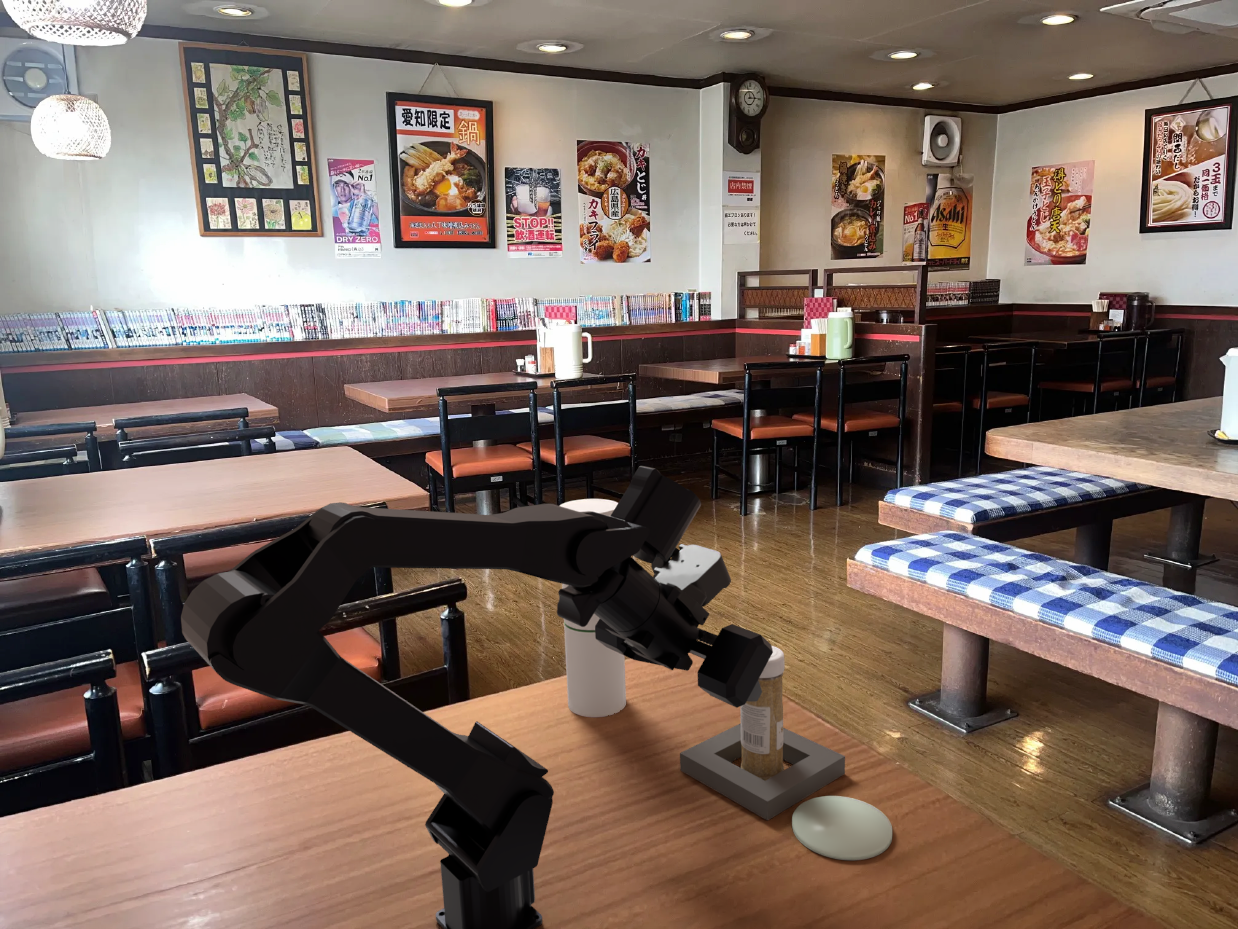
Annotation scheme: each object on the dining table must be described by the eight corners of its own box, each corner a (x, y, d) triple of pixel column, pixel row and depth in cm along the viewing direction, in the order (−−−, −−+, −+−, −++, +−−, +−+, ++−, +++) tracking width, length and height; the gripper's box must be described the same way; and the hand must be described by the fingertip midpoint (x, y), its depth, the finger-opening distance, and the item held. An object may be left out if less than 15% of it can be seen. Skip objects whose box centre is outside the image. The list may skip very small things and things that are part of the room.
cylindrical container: (636, 697, 109) (630, 502, 104) (605, 722, 103) (597, 516, 98) (589, 685, 113) (581, 496, 108) (556, 708, 107) (546, 509, 102)
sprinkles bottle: (793, 774, 91) (794, 653, 88) (760, 789, 88) (760, 664, 86) (762, 756, 95) (762, 638, 92) (730, 769, 92) (729, 649, 90)
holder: (767, 820, 83) (767, 801, 83) (680, 770, 92) (679, 753, 92) (844, 773, 91) (845, 756, 90) (756, 731, 100) (756, 715, 99)
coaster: (852, 874, 75) (852, 868, 75) (772, 827, 82) (772, 821, 82) (911, 831, 81) (911, 825, 81) (831, 790, 88) (831, 785, 88)
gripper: (757, 547, 72) (838, 636, 81) (613, 508, 86) (696, 587, 95) (690, 666, 69) (782, 744, 78) (551, 605, 83) (643, 677, 92)
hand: (722, 680), depth 86 cm, fingers open, 9 cm apart
